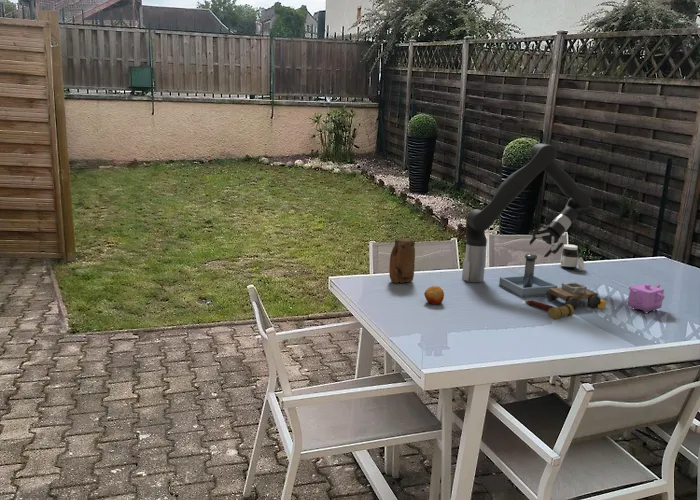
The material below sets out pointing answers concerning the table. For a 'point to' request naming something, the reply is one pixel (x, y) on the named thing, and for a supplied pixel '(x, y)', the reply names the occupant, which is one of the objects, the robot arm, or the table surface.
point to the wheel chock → (602, 304)
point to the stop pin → (529, 270)
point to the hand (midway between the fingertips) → (537, 250)
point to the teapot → (645, 297)
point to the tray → (516, 287)
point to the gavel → (553, 309)
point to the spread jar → (571, 258)
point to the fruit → (434, 295)
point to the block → (402, 261)
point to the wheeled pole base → (574, 294)
